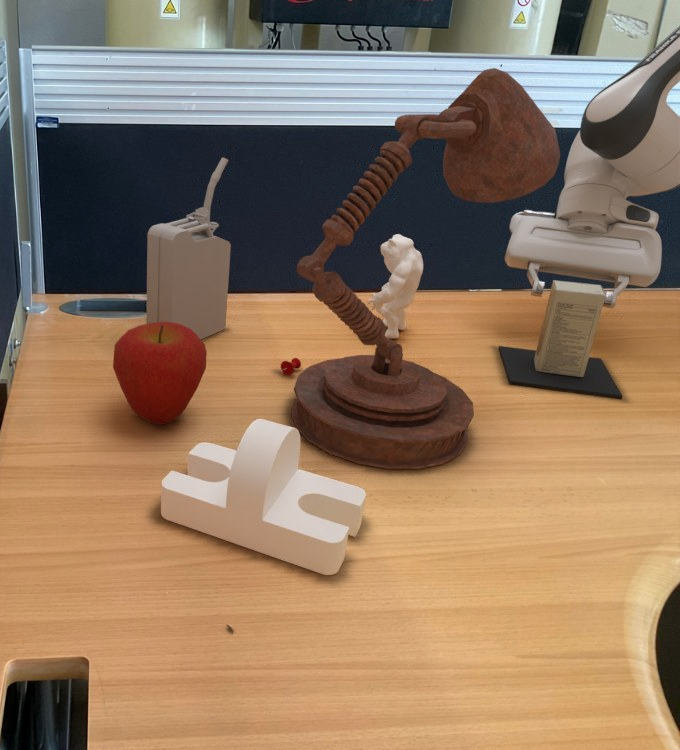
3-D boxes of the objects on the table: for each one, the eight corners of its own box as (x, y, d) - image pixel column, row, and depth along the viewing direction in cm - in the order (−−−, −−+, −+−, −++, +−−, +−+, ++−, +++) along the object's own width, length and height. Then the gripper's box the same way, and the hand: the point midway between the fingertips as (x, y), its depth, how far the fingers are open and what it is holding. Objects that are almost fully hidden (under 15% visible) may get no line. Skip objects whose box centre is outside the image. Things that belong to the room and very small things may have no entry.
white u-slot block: (334, 578, 67) (349, 482, 62) (156, 516, 74) (158, 426, 70) (363, 520, 75) (379, 431, 70) (199, 468, 82) (204, 384, 77)
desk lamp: (546, 429, 92) (649, 77, 74) (342, 499, 78) (408, 82, 60) (420, 361, 108) (479, 59, 90) (231, 408, 94) (257, 60, 76)
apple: (134, 389, 98) (135, 301, 92) (214, 405, 95) (219, 315, 89) (98, 430, 88) (96, 335, 83) (185, 449, 85) (189, 351, 80)
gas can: (211, 315, 121) (219, 155, 110) (235, 324, 118) (247, 160, 107) (144, 342, 111) (146, 169, 100) (169, 353, 108) (175, 175, 97)
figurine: (400, 349, 112) (418, 251, 105) (357, 339, 115) (371, 243, 108) (418, 326, 120) (436, 233, 113) (377, 317, 123) (392, 226, 116)
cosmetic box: (579, 366, 107) (604, 284, 102) (583, 379, 104) (609, 295, 98) (531, 358, 109) (552, 278, 104) (533, 371, 105) (555, 288, 100)
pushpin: (285, 381, 101) (286, 367, 100) (272, 376, 103) (273, 362, 102) (301, 372, 104) (303, 358, 103) (289, 367, 105) (290, 354, 104)
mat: (599, 361, 110) (600, 358, 110) (621, 398, 100) (622, 395, 100) (498, 348, 113) (499, 345, 113) (509, 383, 103) (510, 380, 103)
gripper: (516, 197, 114) (497, 278, 110) (671, 215, 106) (657, 302, 103) (510, 219, 119) (493, 297, 116) (658, 238, 112) (644, 322, 108)
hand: (571, 300), depth 109 cm, fingers open, 8 cm apart
